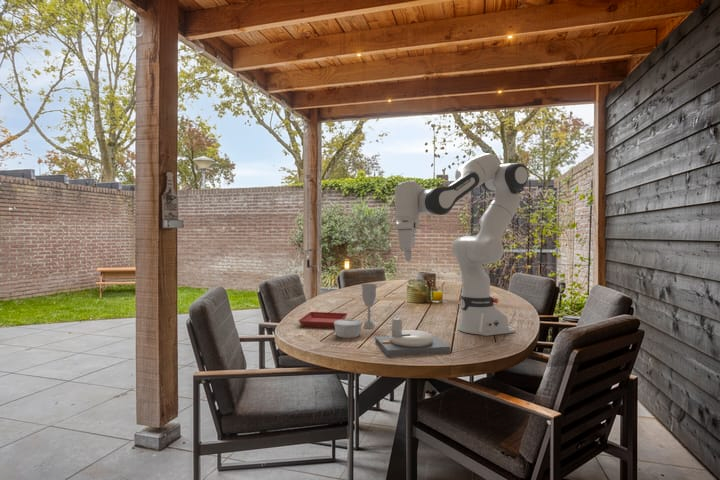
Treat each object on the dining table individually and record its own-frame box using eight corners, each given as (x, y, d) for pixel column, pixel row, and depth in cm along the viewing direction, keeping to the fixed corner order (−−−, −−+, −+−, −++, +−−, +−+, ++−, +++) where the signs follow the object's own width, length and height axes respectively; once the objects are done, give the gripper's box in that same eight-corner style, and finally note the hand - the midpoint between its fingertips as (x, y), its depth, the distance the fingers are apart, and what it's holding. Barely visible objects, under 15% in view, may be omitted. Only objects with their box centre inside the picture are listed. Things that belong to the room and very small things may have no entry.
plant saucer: (339, 329, 172) (339, 321, 172) (297, 327, 175) (297, 320, 175) (348, 320, 190) (348, 313, 190) (310, 318, 193) (310, 311, 193)
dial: (421, 334, 155) (421, 312, 155) (440, 344, 140) (440, 321, 140) (384, 336, 151) (384, 315, 150) (399, 348, 136) (399, 324, 136)
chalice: (375, 329, 171) (375, 286, 171) (359, 328, 172) (359, 285, 172) (378, 325, 178) (378, 284, 178) (362, 324, 180) (362, 283, 179)
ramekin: (358, 330, 169) (358, 318, 169) (365, 338, 158) (365, 324, 158) (331, 332, 166) (331, 319, 166) (336, 339, 156) (336, 325, 155)
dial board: (431, 339, 156) (431, 332, 156) (450, 352, 139) (450, 344, 139) (375, 342, 152) (375, 335, 152) (387, 356, 135) (387, 348, 135)
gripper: (402, 223, 166) (403, 258, 166) (395, 224, 146) (396, 263, 147) (417, 223, 164) (418, 257, 165) (413, 224, 145) (414, 263, 145)
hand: (408, 260), depth 156 cm, fingers closed
